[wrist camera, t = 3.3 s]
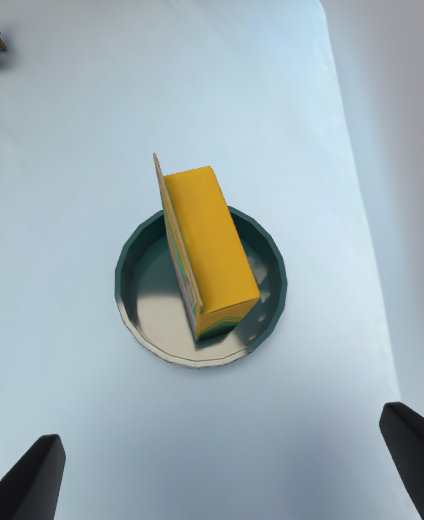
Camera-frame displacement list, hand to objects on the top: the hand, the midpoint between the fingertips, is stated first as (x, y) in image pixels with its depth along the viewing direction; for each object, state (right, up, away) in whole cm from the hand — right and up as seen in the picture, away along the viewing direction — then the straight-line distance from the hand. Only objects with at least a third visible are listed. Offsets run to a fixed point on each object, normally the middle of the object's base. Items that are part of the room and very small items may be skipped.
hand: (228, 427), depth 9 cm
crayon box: (-1, +2, +15) cm, 15 cm away
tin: (-1, +2, +15) cm, 15 cm away
